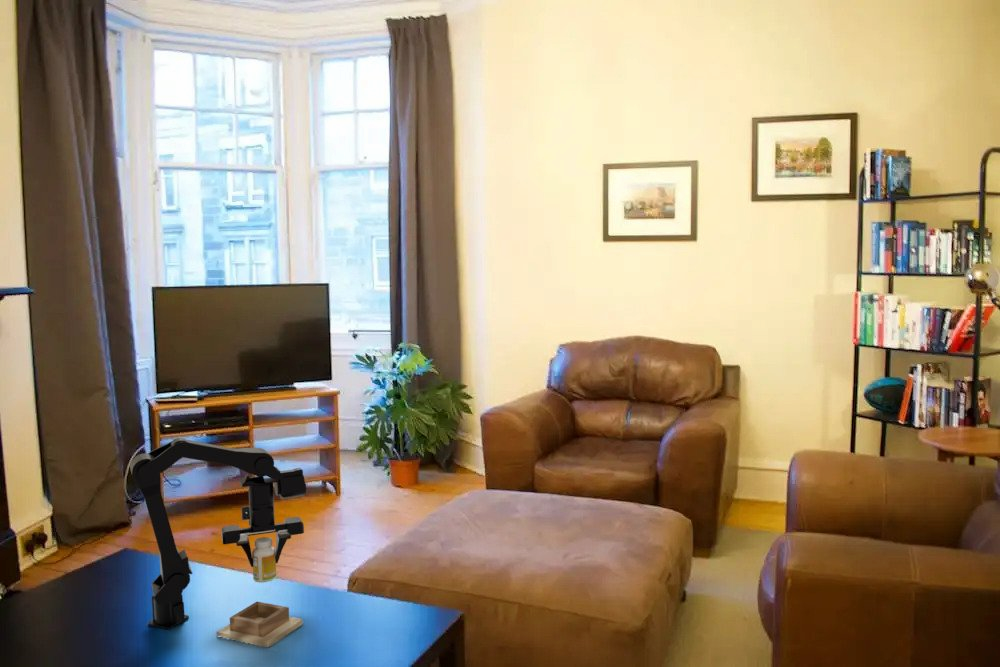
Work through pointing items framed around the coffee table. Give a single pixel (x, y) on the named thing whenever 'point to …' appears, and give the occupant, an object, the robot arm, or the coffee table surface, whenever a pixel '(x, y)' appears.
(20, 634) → the coffee table surface
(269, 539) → the supplement bottle
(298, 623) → the collar board
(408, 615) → the coffee table surface
